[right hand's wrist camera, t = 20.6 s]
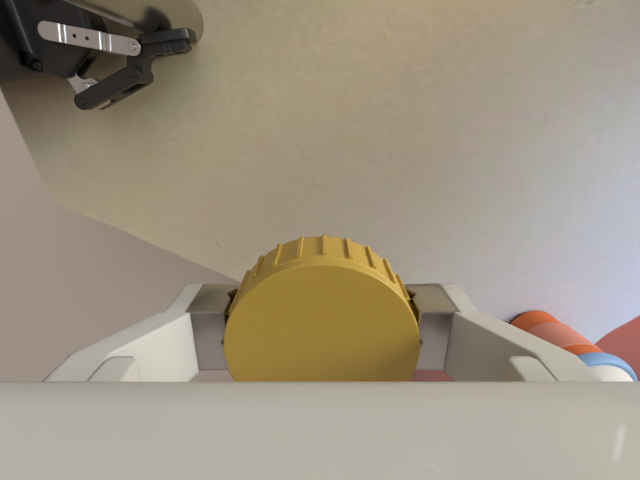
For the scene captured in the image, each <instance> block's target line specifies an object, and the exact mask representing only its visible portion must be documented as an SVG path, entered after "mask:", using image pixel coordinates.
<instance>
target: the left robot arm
mask: <svg viewBox="0 0 640 480" xmlns="http://www.w3.org/2000/svg"><path fill="white" fill-rule="evenodd" d="M139 37H140V38H137V39H134V38H130V37H125V36H119V35H114V34H109V33H108V31H107V28H106V25H105V24H104V22H103V20H102V18H101V16H100V15H97V14H95V13H92V12H90V11H88V10H85V9H83V8H80V7H78V6H75V5H73V4H71V3H68V2H66V1H63V0H0V83H3V82H9V81H16V80H23V79H30V78H37V77H44V76H51V75H55V76H58V77H60V78H65V79H67V80H68V81H69V83H70V84H71V86H72V87H73V89H74V90H75V92H76V93H77V95H76V96H75V98H74V102H75V104H76V106H77V107H78V108H80V109H82V110H103V109H105V108H107V107H109V106H111V105H113V104H115V103H116V102H118V101H120V100H122V99H124V98H126V97H127V96H129V95H131V94H133V93H135V92H137V91H138V90H140V89H142V88H144V87H146V86H148V85H149V84H151V83H152V82H153V80H154V77H153V74H152V72H151V65H152V62H153V60H154V59H155V58H158V57H165V56H172V55H179V54H186V53H188V52H189V51H191V50H192V49H191V44H192V43H197V38H196V33H195V31H193V30H191V29H190V28H176V29H169V30H162V31H155V32H150V33H142V34H139ZM101 52H106V53H111V54H117V55H122V56H127V67H125V68H123V69H121V70H119V71H118V72H116V73H114V74H112V75H111V76H109V77H107V78H105V79H103V80H102V81H101V80H99V79H93V78H88V79H87V78H86V77H85V76H84V75H85V74H86V72H87V71H88V69H89V68H90V67H91V65H92V64H93V63H94V61H95V60H96V59H97V57H98V56H99V55H100V53H101Z"/></svg>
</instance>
